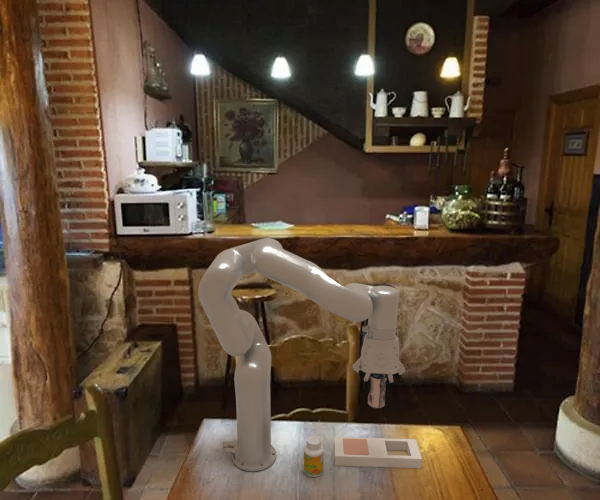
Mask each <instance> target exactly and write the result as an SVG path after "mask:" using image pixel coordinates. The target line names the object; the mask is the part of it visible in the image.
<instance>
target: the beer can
mask: <svg viewBox="0 0 600 500" xmlns="http://www.w3.org/2000/svg"><path fill="white" fill-rule="evenodd" d="M387 376H388V375H387V374H374V373H371V374H370V376H369V380H370V388H369V394H368V395H367V405H368V406H370V407H371V408H373V409H380V408H383V407H384V406H385V405H386V404H385V403H386V393H385V392H386V380H387Z"/></svg>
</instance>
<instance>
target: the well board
mask: <svg viewBox="0 0 600 500" xmlns="http://www.w3.org/2000/svg"><path fill="white" fill-rule="evenodd" d="M333 439H334V440H333V443H334V444H333V451H334V453H333V455H334V466H336V467H360V468H361V467H362V468H363V467H364V468H365V467H366V468H367V467H368V468H369V467H370V468H371V467H372V468H374V467H375V468H396V469H397V468H399V469H400V468H401V469H422V465H423V457H422V455H421V454H422V453H421V451H420V448H419V445H418V442H417V439H413V438H384V437H383V438H382V437H352V436H351V437H350V436H349V437H347V436H334V437H333ZM388 451H406V454H407V455H397V454H396V455H395V454H394V455H393V454H392V455H391V454H390V455H389V454H388Z"/></svg>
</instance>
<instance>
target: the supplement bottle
mask: <svg viewBox="0 0 600 500" xmlns="http://www.w3.org/2000/svg"><path fill="white" fill-rule="evenodd" d="M324 451H325V450H324V447H323V445H322V439H321V437H320V436H318V435H309V436H308V437H307V438H306V444H305V445H304V448H303V472H304V474H305V476H308V477H310V478H316V477H317V478H318V477H320V476H322V475H323V472H324Z"/></svg>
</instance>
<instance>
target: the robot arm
mask: <svg viewBox="0 0 600 500" xmlns="http://www.w3.org/2000/svg"><path fill="white" fill-rule="evenodd" d="M251 273H257V274H259V275H260V276H263V277H264V278H267V279H269V280H271V281H274V282H276V283H279V284H280V285H283V286H285V287H288V288H290V289H292V290H294V291H296V292H298V293H300V294H302V295H303V296H305V298H307V299H309V300H310V301H312V302H314V303H315V304H317V305H318V306H320V307H321V308H323V309H325V310H327V311H329V312H330V313H333V314H334V315H337V316H338V317H341V318H344V319H345V320H348V321H351V322H355V323H360V322H364V321H366V320H368V321H367V325H365V326H362V332H365V334H364V337H363V340H362V347H361V353H360V357H359V358H358V359H357V360H356V361H355V362H354V363H353V364H352V370H353V371H354V372H356V373H357V374H358V375H359V376H360V377H361V378H362V379H363V391H365V394H366V395H367V396H368V395H369V388H370V374H371V373H374V374H387V380H386V392H385V396H388V397H389V396H390V392H392V386H393V383H394V381H395V380H396V379H397V378H399V376H400V375H403V374H405V373H406V367H404V365H403V363H402V362H401V360H400V342H399V337H398V336H397V335H396V334H397V323H398V311H399V309H398V308H399V301H400V300H399V299H400V294H399V291H398V290H397V289H396V288H395V287H393V286H389V285H371V284H370V285H368V284H363V283H360V282H359V283H358V282H350V283H347V284H346V285H342V284H340V283H339V282H338V281H336V280H334V279H332V278H331V277H330V276H329V275H328V274H327V273H326V272H325V271H323V269H322V268H321V267H320V266H318V264H316V263H314V262H312V261H310V260H307V258H306V259H305V258H303V257H301V256H299V255H297V254H294V253H292V252H290V251H288V250H285V249H284V248H283V246H282V244H281V243H280V242H279V241H278V240H276V239H275V238H272V237H270V238H269V237H266V238H265V237H264V238H261V239H257V240H254V241H251V242H248V243H244V244H241V245H237V246H234V247H230V248H228V249H224V250H223V251H221V252H220V253H218V254H217V255H216V256H215V258H214V260H213V261H212V263H211V264H210V265H209V266H208V268H207V269H206V271H205V272H204V274H203V275H202V276H201V279H200V281H199V283H198V289H197V293H198V294H197V295H198V300H199V302H200V305H201V307H202V309H203V311H204V312H205V314H206V316H207V319H208V320H209V323H210V325H211V328H212V329H213V331H214V334H215V335H216V337H217V339H218V341H219V343H220V346H221V348H222V349H223V350H224V352H226V353H227V355H230V356H232V357H237V358H238V359H237V361H236V366H235V369H234V377H233V380H234V390H235V402H236V403H235V405H236V407H235V408H236V409H235V410H236V432H237V433H236V436H237V437H236V440H233V441H224V440H223V441H222V449H225V450H224V453H225V454H232V455H231V457H232V462H233V465H234V466H236V467H237V469H241V470H243V471H247V472H257V471H263V470H266V469H268V468H269V467H271V466H272V465H273V464H274V463H275V462H276V459H277V449H276V448H275V446H273V444H272V438H271V437H272V432H271V430H272V429H271V427H272V426H271V424H272V423H271V422H272V421H271V417H272V416H271V415H272V414H271V413H272V412H271V371H272V369H271V368H272V352H271V350H270V347H269V345H268V343H267V341H266V338H265V337H264V335H263V333H262V330H261V327H259V324H258V322H257V320H256V318H255V317H254V316H253V315H252V313H250V312H248V311H247V310H244V309H240V307H239V305H238V303H237V300H236V299H235V297H234V296H233V295H232V292H233V289H234V288H235V287H236V286H237V285H238V284H239V282H240V280H241V278H242V276H246V275H248V274H251Z"/></svg>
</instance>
